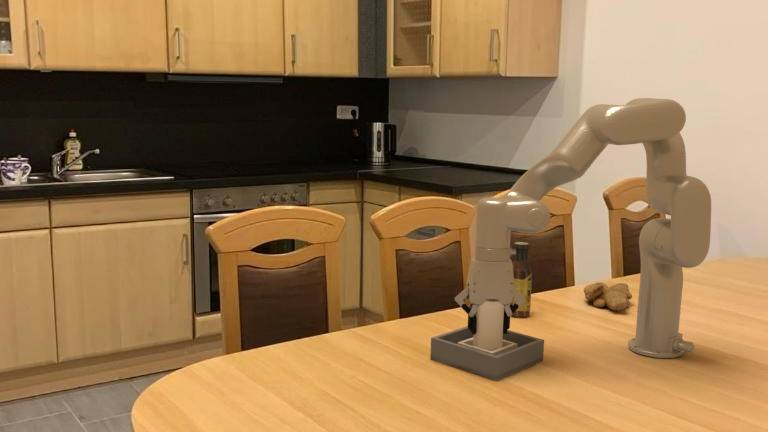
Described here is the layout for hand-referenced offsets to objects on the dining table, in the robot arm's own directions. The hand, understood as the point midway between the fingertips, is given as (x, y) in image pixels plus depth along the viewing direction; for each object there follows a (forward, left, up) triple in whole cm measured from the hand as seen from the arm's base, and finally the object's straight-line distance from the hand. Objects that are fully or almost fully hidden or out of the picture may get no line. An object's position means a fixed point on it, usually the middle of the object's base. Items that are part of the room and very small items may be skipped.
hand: (488, 331), depth 176 cm
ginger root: (+5, -64, -7) cm, 64 cm away
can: (0, 0, -4) cm, 4 cm away
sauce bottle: (+16, -36, -7) cm, 40 cm away
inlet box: (0, 0, -7) cm, 7 cm away
